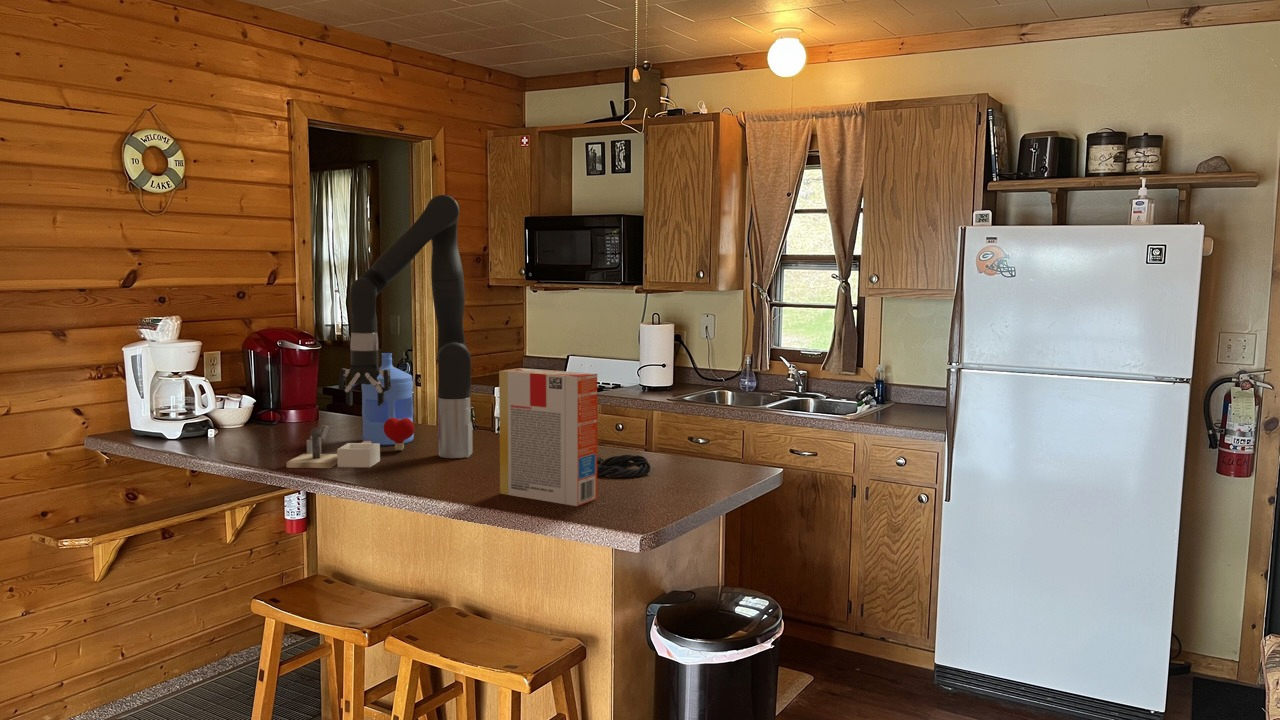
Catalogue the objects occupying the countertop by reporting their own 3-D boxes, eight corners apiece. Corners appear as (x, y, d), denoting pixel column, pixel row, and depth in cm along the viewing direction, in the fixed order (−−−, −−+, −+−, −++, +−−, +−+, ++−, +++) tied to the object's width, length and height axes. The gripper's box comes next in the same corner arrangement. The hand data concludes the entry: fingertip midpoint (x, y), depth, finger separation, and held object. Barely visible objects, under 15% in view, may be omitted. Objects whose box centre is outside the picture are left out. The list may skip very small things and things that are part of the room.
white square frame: (383, 458, 266) (383, 441, 266) (370, 467, 254) (369, 449, 254) (352, 458, 267) (352, 440, 266) (337, 467, 254) (337, 449, 254)
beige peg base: (345, 459, 265) (344, 425, 264) (330, 468, 253) (329, 432, 252) (303, 458, 265) (302, 424, 264) (286, 467, 253) (285, 431, 252)
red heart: (418, 449, 280) (417, 416, 279) (410, 453, 273) (409, 420, 273) (388, 448, 281) (388, 416, 280) (380, 453, 274) (379, 419, 273)
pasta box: (597, 499, 220) (597, 373, 217) (577, 506, 213) (577, 376, 211) (520, 487, 232) (520, 368, 229) (500, 493, 225) (499, 370, 222)
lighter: (310, 455, 270) (309, 428, 270) (306, 454, 271) (305, 427, 270) (329, 451, 276) (329, 424, 276) (325, 450, 277) (325, 424, 277)
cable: (658, 472, 252) (658, 456, 252) (638, 482, 240) (638, 465, 239) (601, 466, 259) (601, 451, 259) (578, 476, 246) (578, 460, 246)
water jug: (359, 439, 297) (357, 352, 295) (408, 435, 304) (407, 350, 301) (366, 447, 283) (364, 356, 281) (418, 443, 290) (417, 354, 287)
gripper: (393, 348, 266) (393, 404, 267) (344, 347, 266) (344, 403, 267) (385, 350, 258) (386, 407, 260) (334, 349, 259) (335, 406, 260)
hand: (365, 405), depth 264 cm, fingers open, 8 cm apart
